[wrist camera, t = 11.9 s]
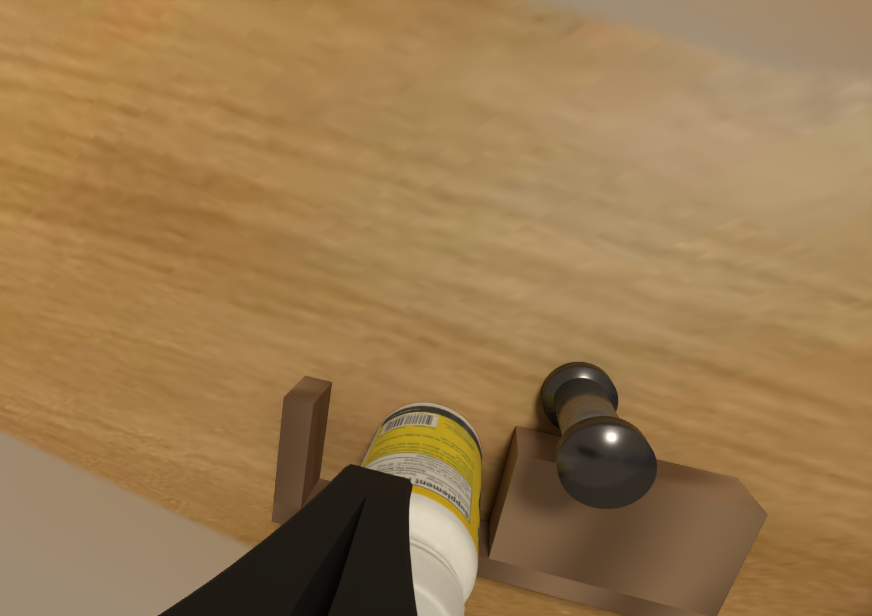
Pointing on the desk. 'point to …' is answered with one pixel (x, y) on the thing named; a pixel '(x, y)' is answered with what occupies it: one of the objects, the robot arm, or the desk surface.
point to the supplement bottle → (436, 499)
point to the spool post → (596, 439)
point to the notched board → (571, 523)
